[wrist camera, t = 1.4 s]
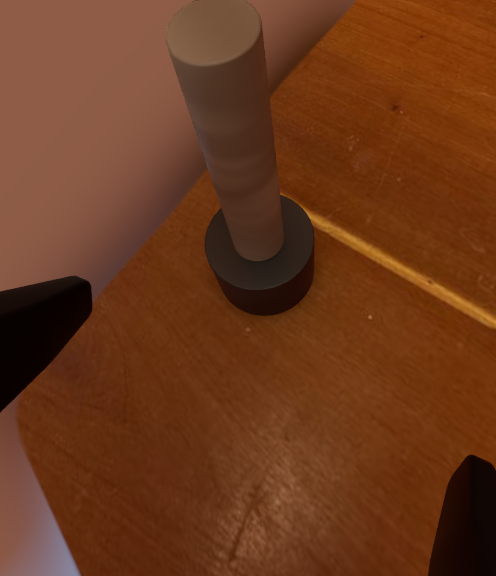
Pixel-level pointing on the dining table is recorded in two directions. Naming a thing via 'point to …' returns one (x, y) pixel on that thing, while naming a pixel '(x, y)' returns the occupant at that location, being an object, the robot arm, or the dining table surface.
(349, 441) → the dining table surface
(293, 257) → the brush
